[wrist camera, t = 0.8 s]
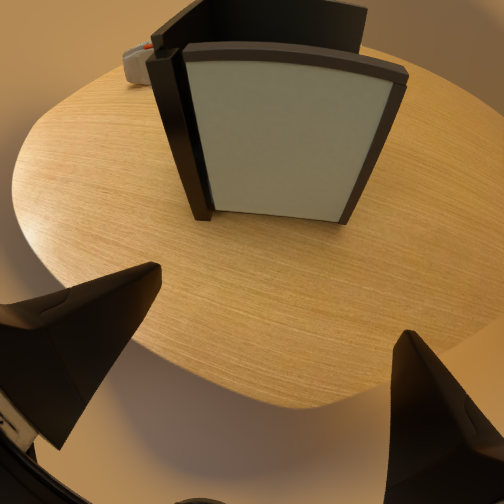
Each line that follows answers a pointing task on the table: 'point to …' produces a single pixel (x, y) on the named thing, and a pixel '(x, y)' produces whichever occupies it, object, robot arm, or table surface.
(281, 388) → the table surface
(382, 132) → the shower door
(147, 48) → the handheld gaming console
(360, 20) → the shower stall
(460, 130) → the table surface
